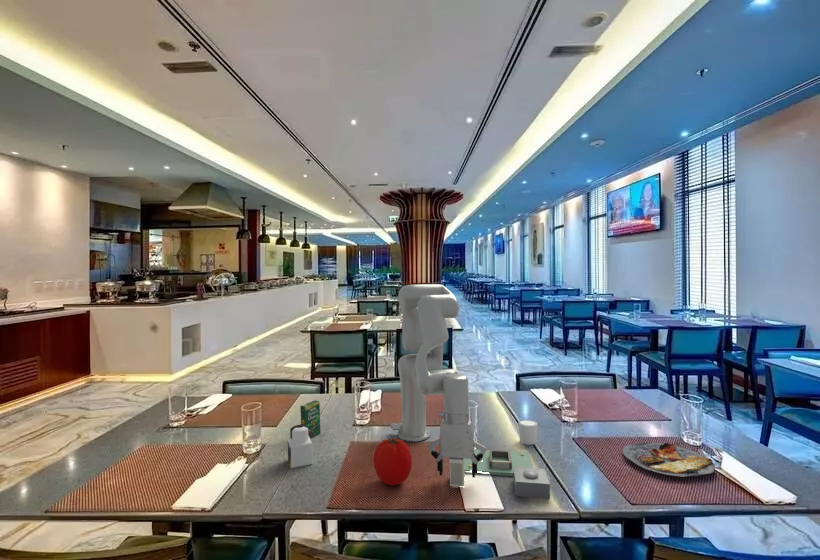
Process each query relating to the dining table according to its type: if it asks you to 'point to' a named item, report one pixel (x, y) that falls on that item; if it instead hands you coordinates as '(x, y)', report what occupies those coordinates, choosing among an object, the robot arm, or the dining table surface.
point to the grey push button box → (531, 482)
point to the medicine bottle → (299, 447)
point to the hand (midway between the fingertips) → (457, 474)
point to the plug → (457, 472)
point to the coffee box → (311, 417)
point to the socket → (500, 463)
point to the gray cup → (528, 431)
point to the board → (517, 460)
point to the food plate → (669, 459)
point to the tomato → (392, 461)
